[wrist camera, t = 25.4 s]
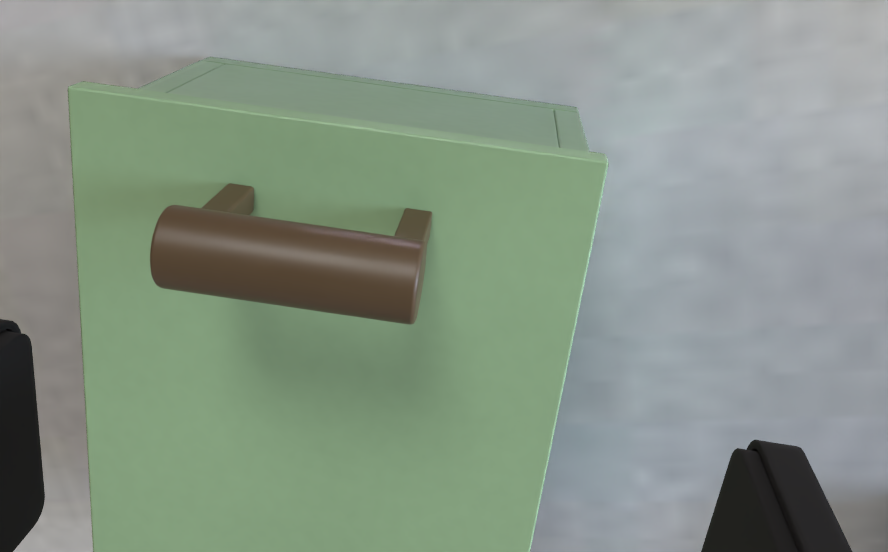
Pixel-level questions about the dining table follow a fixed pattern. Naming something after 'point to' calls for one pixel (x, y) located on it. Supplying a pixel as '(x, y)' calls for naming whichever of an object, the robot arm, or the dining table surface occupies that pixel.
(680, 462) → the dining table surface
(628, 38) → the dining table surface
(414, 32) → the dining table surface
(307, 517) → the lid
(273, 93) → the chest
